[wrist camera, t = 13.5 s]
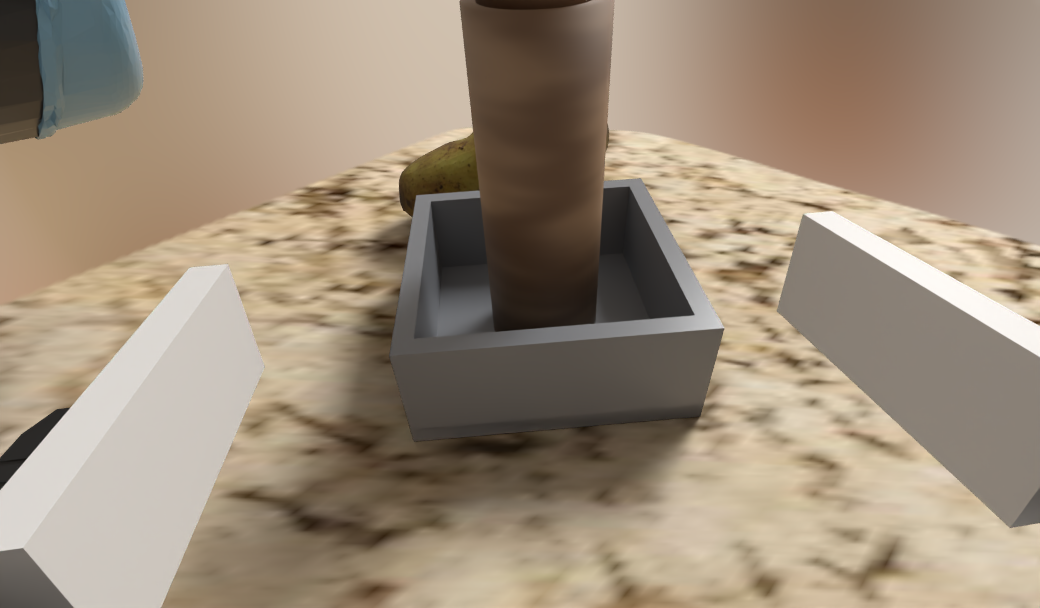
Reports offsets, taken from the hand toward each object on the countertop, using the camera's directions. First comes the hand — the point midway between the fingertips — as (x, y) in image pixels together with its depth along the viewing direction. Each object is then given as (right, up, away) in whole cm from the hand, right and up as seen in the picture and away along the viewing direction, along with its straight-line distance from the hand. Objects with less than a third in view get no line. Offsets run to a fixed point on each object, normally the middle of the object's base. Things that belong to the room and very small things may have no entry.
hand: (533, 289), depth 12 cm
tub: (+1, -2, +14) cm, 14 cm away
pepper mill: (+1, -1, +14) cm, 14 cm away
